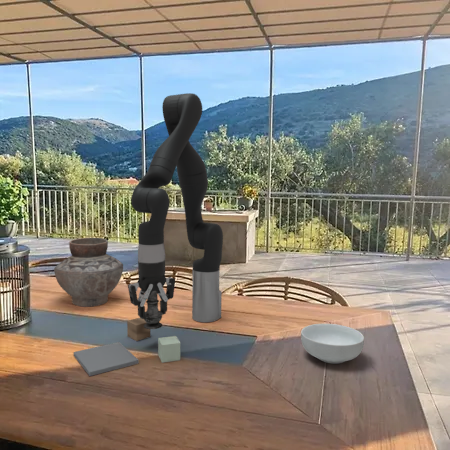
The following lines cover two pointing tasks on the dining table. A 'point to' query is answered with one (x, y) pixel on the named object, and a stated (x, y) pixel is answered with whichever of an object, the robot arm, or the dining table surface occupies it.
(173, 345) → the sage block
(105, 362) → the serving board
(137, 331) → the walnut block
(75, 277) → the ceramic pot
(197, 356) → the dining table surface
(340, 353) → the cereal bowl
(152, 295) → the salt shaker
